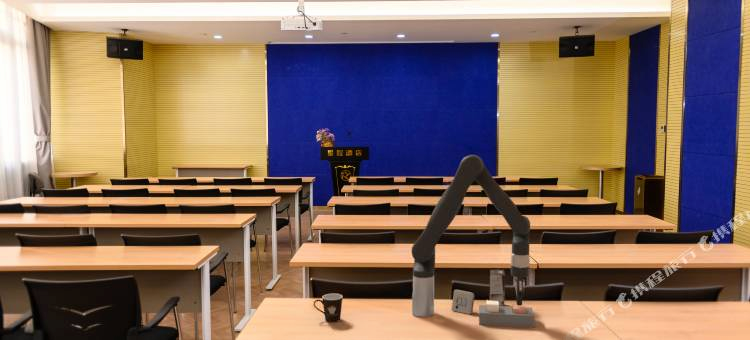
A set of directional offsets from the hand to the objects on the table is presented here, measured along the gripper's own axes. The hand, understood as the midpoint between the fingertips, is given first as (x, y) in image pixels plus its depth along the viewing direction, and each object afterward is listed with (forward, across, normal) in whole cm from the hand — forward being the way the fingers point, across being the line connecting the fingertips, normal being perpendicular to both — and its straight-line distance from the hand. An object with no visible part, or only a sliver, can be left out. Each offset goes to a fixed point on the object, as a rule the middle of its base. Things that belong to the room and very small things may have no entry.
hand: (519, 304), depth 235 cm
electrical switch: (+8, -10, -23) cm, 27 cm away
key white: (+5, 0, -11) cm, 12 cm away
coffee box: (+8, -18, -8) cm, 22 cm away
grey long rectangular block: (+8, 0, -5) cm, 9 cm away
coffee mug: (+8, +8, -79) cm, 80 cm away
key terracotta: (+6, 0, 0) cm, 6 cm away
